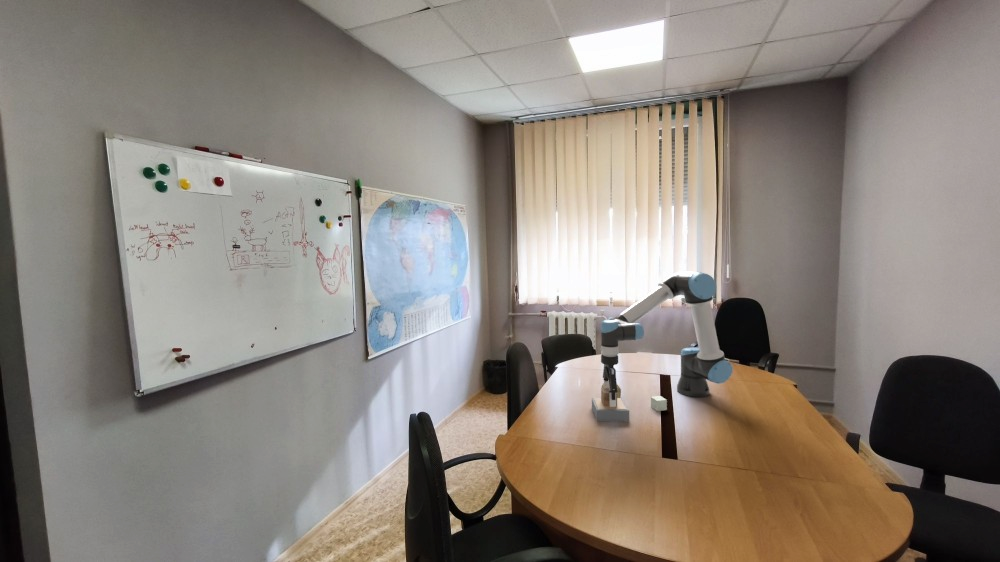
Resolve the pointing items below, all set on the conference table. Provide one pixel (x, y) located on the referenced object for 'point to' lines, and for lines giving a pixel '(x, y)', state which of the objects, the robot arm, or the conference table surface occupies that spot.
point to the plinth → (610, 411)
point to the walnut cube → (606, 396)
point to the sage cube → (658, 403)
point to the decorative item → (617, 390)
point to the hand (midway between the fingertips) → (609, 400)
